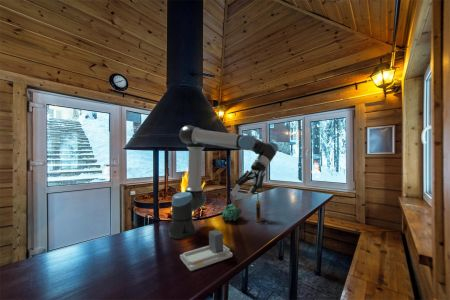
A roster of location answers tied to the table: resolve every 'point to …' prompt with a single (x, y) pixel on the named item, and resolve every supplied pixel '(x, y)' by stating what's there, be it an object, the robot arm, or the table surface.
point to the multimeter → (258, 211)
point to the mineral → (231, 213)
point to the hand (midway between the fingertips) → (239, 196)
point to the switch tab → (215, 241)
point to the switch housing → (204, 257)
